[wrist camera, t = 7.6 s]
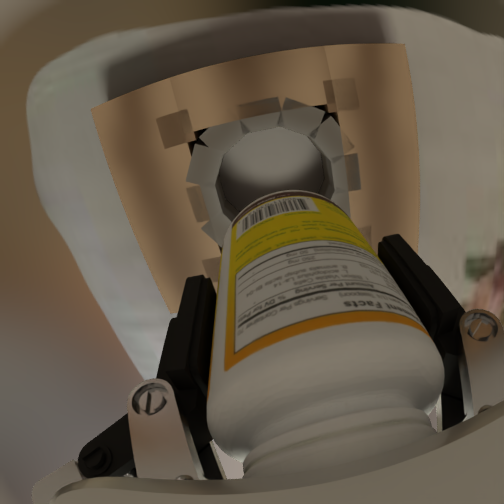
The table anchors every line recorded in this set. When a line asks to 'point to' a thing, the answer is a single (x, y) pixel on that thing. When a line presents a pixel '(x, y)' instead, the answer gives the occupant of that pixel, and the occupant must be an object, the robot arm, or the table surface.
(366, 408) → the supplement bottle
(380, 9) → the table surface
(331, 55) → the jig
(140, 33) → the table surface
